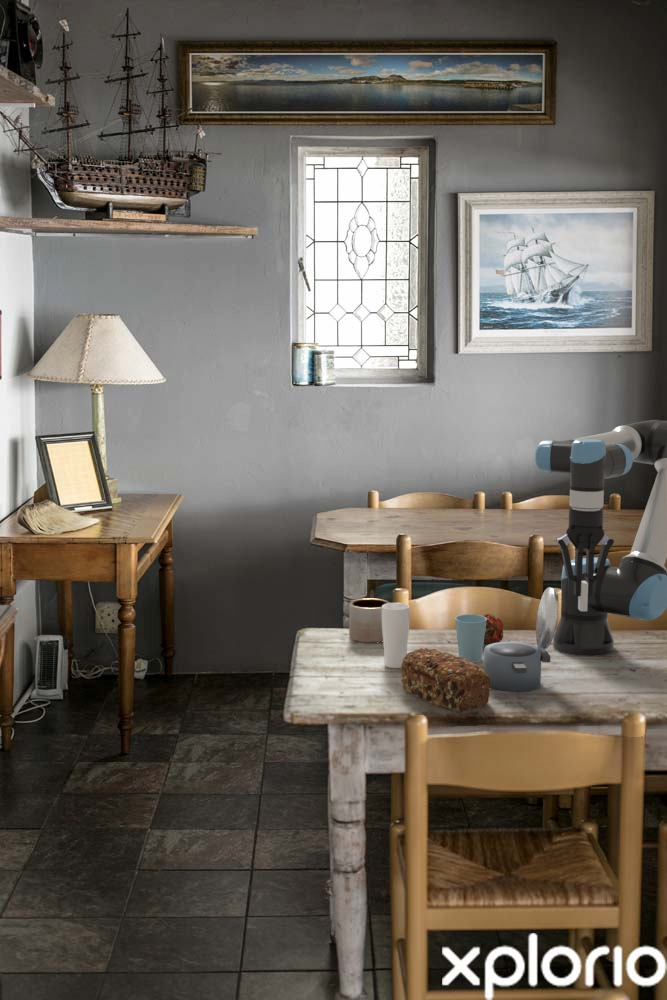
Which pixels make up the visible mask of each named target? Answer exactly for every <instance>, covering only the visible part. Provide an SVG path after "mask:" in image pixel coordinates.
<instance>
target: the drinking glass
mask: <svg viewBox="0 0 667 1000" xmlns="http://www.w3.org/2000/svg"><path fill="white" fill-rule="evenodd" d="M410 616H411V615H410V605H409V604H408V603H407V604H406V603H403V602H389V603H387V604H384V605H382V633H383V642H382V644H383V654H384V657H383V659H384V662H383V663H384V666H385V667H386V668H389V669H401V665H402V663H403V658H404V657H405V656H406V655H407V654H408V642H409V633H410V619H411V617H410Z"/></svg>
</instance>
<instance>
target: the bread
mask: <svg viewBox="0 0 667 1000" xmlns="http://www.w3.org/2000/svg"><path fill="white" fill-rule="evenodd" d="M400 673H401V674H400V678H401V680H400V682H401V684H402V689H403V691H404V692H405V693H406V694H412V695H413V696H415V697H416V698H418V699H420V700H422V701H423V700H424V701H425V702H427V703H431V704H432V705H435V706H438V707H443V708H445V709H450V710H451V711H453V712H456V713H457V712H459V713H460V712H468V711H469V710H471V708H480V707H482V706H485V705H488V703H489V698H490V695H491V694H490V692H491V688H490V678H489V675H488V674H487V673H486V671H485V670H484V667H481V666H479V665H477V664H475V662H470V661H468V660H467V659H464V658H462V657H459V655H455V654H453V653H449V652H447V651H446V652H445V651H444V652H442V651H439V650H437V649H435V648H428V647H427V648H426V647H425V648H419V649H415V650H413V651H410V652H407V655H406V656H405V657H404V658H403V663H402V665H401V668H400Z"/></svg>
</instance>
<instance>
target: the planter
mask: <svg viewBox="0 0 667 1000" xmlns="http://www.w3.org/2000/svg"><path fill="white" fill-rule="evenodd" d="M387 603H390V601H388V600H385V599H381V598H373V597H371V598H369V597H367V598H358V599H353V600H351V601H350V602H349V614H348V615H349V620H348V621H349V622H348V623H349V625H348V626H349V627H348V628H349V629H348V636H349V638H350V639H351V640H352V641H354V642H356V643H361V644H378V643H377V642H380V643H383V642H382V641H383V633H382V605H384V604H387Z"/></svg>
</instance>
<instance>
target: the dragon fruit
mask: <svg viewBox="0 0 667 1000" xmlns="http://www.w3.org/2000/svg"><path fill="white" fill-rule="evenodd" d="M483 616H484V617H486V618H487V621H486V628H485V636H484V644H483V646H485V647H486V646H487V645H489V644H493V643H498V642H500V641H503V638H504V628H503V627H504V623H503V621H502V620H501V619H500V618H497V617H496V616H495V615H494V614H491V613H485V615H483Z"/></svg>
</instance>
